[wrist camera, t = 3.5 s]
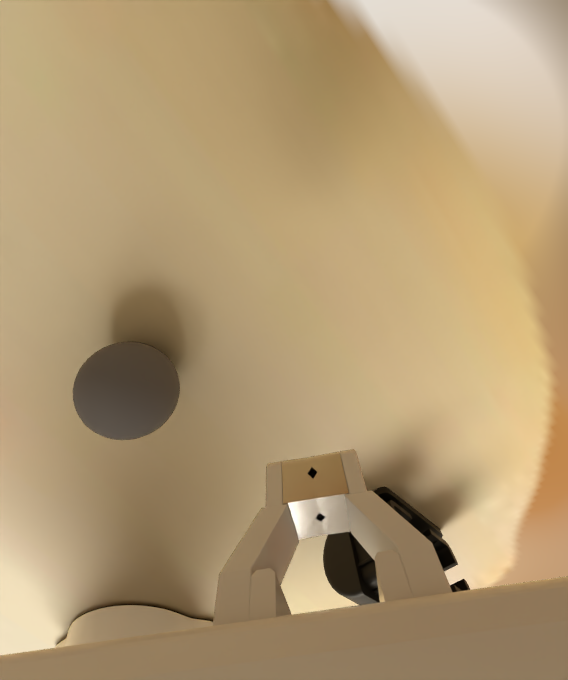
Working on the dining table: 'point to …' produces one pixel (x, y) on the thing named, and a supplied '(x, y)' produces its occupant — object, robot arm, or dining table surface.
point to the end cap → (359, 567)
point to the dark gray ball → (126, 390)
